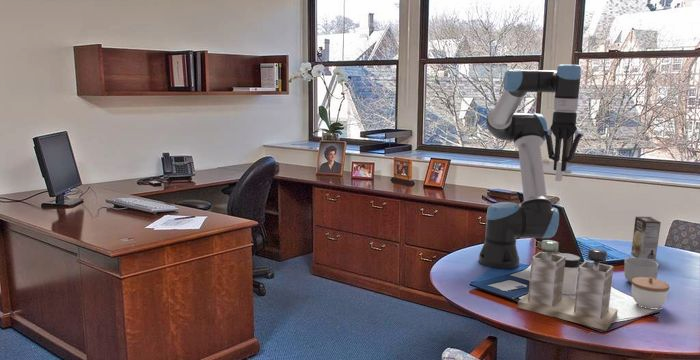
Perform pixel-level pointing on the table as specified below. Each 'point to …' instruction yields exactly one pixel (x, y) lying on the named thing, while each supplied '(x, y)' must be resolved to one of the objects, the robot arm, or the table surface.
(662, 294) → the lidded jar
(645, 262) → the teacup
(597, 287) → the stand
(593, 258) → the plunger
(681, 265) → the table surface
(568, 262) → the jar
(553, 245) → the plunger
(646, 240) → the coffee box
